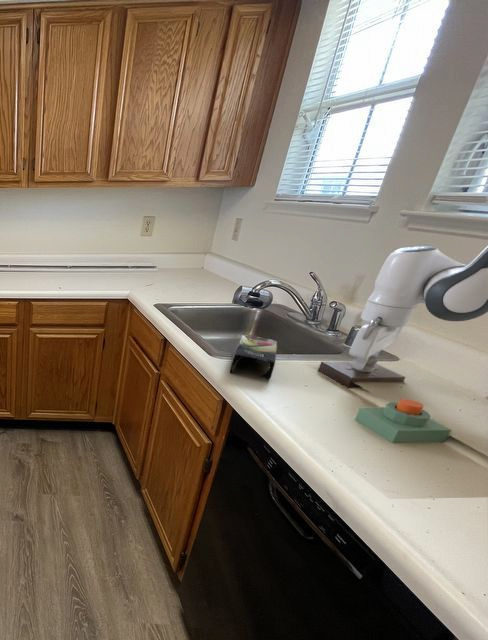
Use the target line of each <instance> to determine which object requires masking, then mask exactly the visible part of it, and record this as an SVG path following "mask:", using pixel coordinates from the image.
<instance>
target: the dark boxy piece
mask: <svg viewBox="0 0 488 640" xmlns="http://www.w3.org/2000/svg"><path fill="white" fill-rule="evenodd" d="M277 350H278V341H277V340H274V339H269V338H264V337H261V336H260V337H259V336H251V335H250V336H249V335H245V334H244V335H241V336H240V339H239V341H238V343H237V345H236V347H235V349H234V351H233V354H232V358H231V363H230V367H229V373H230V374H233V370H234V367H235V366H236V364H237V362H238V361H240V360H242V359H253V360H255V359H257V361H258V362H266V363H268V367H269V368H268V369H266V372H263V373H262V374H261V375H260V376H259V377H260V378H262V379H265V380H271V378H272V375H273V371H274V368H275V364H276V358H277Z"/></svg>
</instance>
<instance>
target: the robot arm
mask: <svg viewBox="0 0 488 640" xmlns="http://www.w3.org/2000/svg"><path fill="white" fill-rule="evenodd" d="M418 304H425V308H426V309H427V311H428V312H429V313H430V314H431V315H432V316H434V318H435V317H436V318H437V319H440V320H442V321H447V322H466V321H470V320H474V319H477V318H479V317H481V316H484V315H485V314H487V313H488V245H487V246H486V247H485V248H484V249H483V250H482V251H481V252H479V254H478V255H477V256H476V257H475V258H474V259H472V261H471V262H470V263H469V264H464V263H461V262H459V261H457V260H454V259H453V258H451V257H449V256H448V255H446V254H444V253H443V252H442V251H440V250H439V248H437V247H435V246H427V245H426V246H425V245H418V246H417V245H416V246H414V245H413V246H406V247H400V248H398V249H396V250H394V251H392V252H391V253H390V254H389V255H388V256H387V258H386V259H385V261H384V262H383V264H382V266H381V268H380V270H379V272H378V274H377V277H376V279H375V282H374V289H373V292H372V293H371V294H370V296H368V298H367V301H366V303H365V305H364V308H363V310H362V313H361V314H360V315H361V316H360V319H361V320H363V321H365V322H364V325H362V326H361V327H360V328H359V330H358V331H357V334H356V335H355V337H354V340H353V341H352V343H351V346H350V348H349V352H348V354H349V356H352V357H354V358H355V357H357V361H356V364H355V368H356V369H359V370H362V369H364V368H365V367H366V364H367V360H368V358H369V357H370V356H371V355H373V356H376V357H377V358H378V356H379V354H380V353H381V351H382V350H383V349H385V348H387V347H389V346H390V345H392V344H393V343H394V342H395V340H396V339H397V338H398V337H399V335H400V333H401V331H402V330H403V328H405V327H406V326H409V322H410V321H411V319H412V317H413V315H414V313H415V310H416V308H417V306H418Z"/></svg>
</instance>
